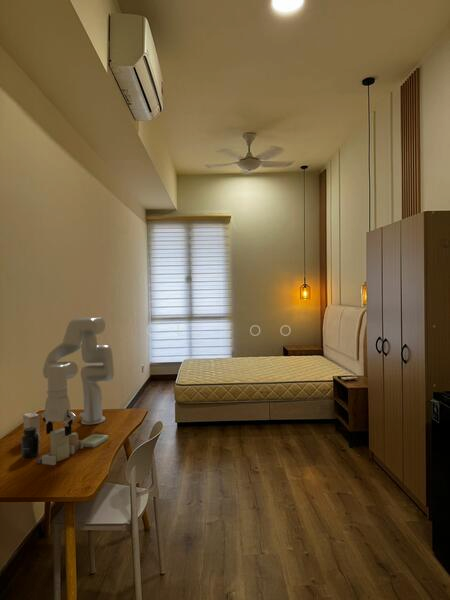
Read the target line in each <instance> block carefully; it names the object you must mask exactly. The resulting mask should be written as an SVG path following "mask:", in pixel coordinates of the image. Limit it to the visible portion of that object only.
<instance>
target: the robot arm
mask: <svg viewBox="0 0 450 600" xmlns="http://www.w3.org/2000/svg"><path fill="white" fill-rule="evenodd" d="M105 328H106V322H105V319H104V318H103V317H100V316H98V317H93V316H92V317H77V318H73V319H72V320H70V321H69V323H68V324H67V326H66V329H65V330H66V331H65V333H64V336H63V339H62V342H61V343H60V344H58V345H57V346H55V348H53V349H52V350H50V352H49V353H48V355H47V356H46V359H45V361H44V365H43V369H42V375H43V377H44V378H45V379H47V391H46V394H47V397H46V399H45V405H44V412H42V413H40V415H41V418H42V420H43V422H44V425H45V427H46V428H45V431H46V432H45V434H46V435H50V432H51V431H54V423H64V425H65V426H64V428H65V436H68V435H70V434H71V433H73V432H72V425H73V424H74V422H75V421H76V418H77V415H76V414H75V413H73V412H72V410H71V403H70V398H69V395H68V380H69V379H74V377H76V376H77V374H78V372H79V367H78V364H77V363H76V362H74V361H59V360H61V359H62V358H65V357H66V356H70V355H71V354H74V353H76V352H79V350H80V351H81V358H82V361H83V362H84V363H85V364H86V365H84V366H82V368H81V369H80V378H81V383H82V393H83V394H82V395H83V396H82V398H83V412H80V413H79V415H78V417H79V418H82V419H81V424H82V425H85V426H86V425H87V426H90V425H97V424H101V423H103V422H105V420H106V417H105V416H104V415H103V403H102V402H103V400H102V399H103V398H102V388H101V385H100V384H99V383H100V382H110V381H112V380H114V379H113V378H114V374H115V371H114V370H115V369H114V358H113V351H112V348H111V346H109V345H106V344H98V338H97V335H100V334H103V332H105ZM98 382H99V383H98Z"/></svg>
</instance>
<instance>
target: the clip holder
mask: <svg viewBox="0 0 450 600" xmlns="http://www.w3.org/2000/svg"><path fill="white" fill-rule="evenodd" d="M82 440H83V439H78V444H79V450H82V449H84V447H83V441H82ZM74 454H75V452H74V446H72V445H69V455H74ZM36 463H37V464H42V465H50V466H55V465H57V462H56V456H51V451H50V452H48V453H46V454H43V455H42V456H41V457H39V458H37V459H36Z"/></svg>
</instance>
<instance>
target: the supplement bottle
mask: <svg viewBox="0 0 450 600" xmlns="http://www.w3.org/2000/svg"><path fill="white" fill-rule="evenodd" d="M20 442H21V443H20V444H21V457H22V459H24V460H25V459H26V460H29V459H34V458H37V457H38V456H39V454H40V442H39V435H38V434H37V433H36V428H35V427H29V428H26V429H24V428H23V436H21V441H20Z"/></svg>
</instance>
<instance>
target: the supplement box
mask: <svg viewBox="0 0 450 600" xmlns="http://www.w3.org/2000/svg"><path fill="white" fill-rule="evenodd" d="M22 417H23V421H22V422H23V430H24V429H26V428H29V427H35V428H36V433H37V434H38V435H39V443H40V442H41V430H40V428H41V427H40V414H38V413H35V412H33V411H32V412H28V413H27V412H26V413H24V414H23V415H22Z"/></svg>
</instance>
